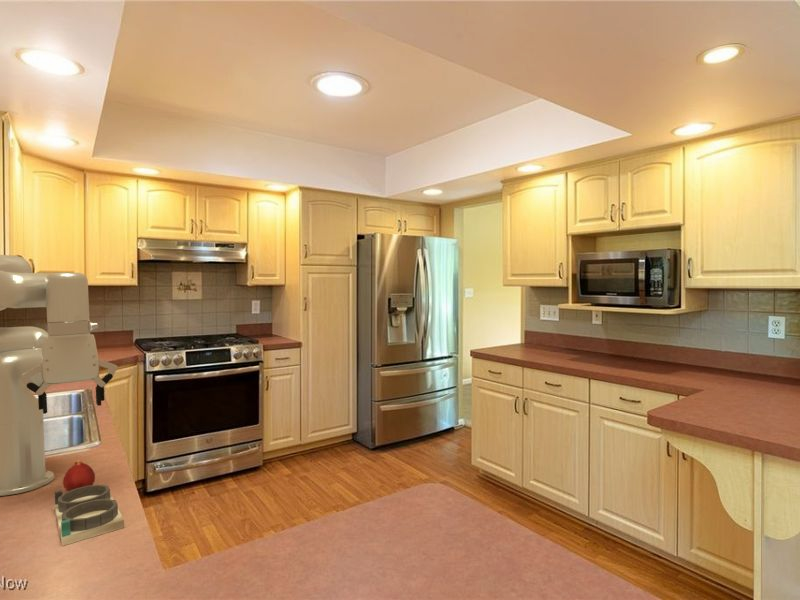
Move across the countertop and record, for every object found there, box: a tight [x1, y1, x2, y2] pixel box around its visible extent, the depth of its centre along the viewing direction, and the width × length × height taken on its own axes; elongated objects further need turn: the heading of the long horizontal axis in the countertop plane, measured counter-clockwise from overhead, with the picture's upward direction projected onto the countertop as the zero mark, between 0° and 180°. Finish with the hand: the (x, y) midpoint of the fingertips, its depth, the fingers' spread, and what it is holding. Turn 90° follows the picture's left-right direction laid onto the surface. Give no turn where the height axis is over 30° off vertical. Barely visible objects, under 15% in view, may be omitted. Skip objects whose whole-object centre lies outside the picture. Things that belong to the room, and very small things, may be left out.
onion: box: [62, 459, 96, 492], centre depth 105 cm, size 6×6×8 cm
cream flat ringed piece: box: [53, 484, 125, 547], centre depth 94 cm, size 18×10×4 cm, turn 39°
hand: (72, 408), depth 103 cm, fingers open, 9 cm apart
